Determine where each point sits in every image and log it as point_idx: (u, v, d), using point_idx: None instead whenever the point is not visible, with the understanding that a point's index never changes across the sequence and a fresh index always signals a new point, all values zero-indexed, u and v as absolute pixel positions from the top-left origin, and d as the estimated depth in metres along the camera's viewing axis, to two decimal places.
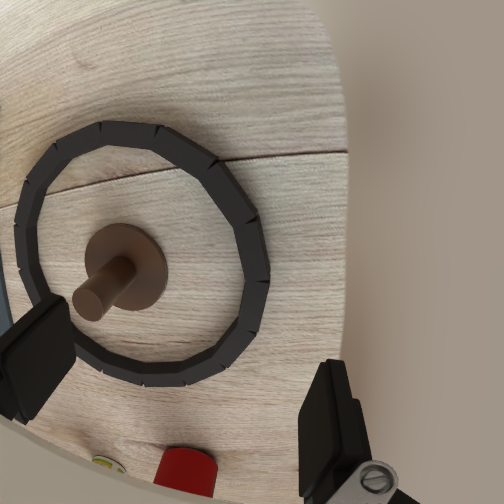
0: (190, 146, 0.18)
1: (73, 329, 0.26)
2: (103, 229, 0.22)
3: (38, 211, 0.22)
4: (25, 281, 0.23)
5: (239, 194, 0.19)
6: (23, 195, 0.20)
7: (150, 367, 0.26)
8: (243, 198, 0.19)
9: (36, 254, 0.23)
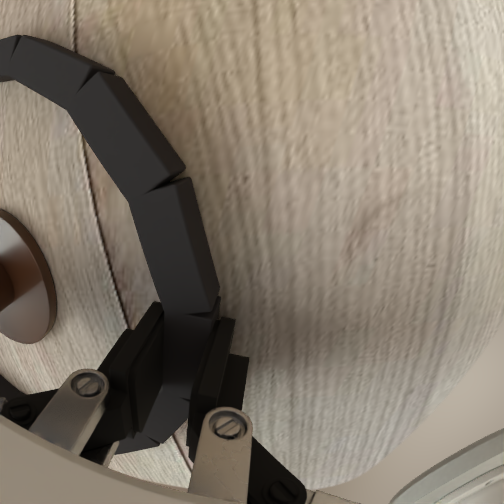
0: (173, 430, 0.12)
1: None
2: (35, 263, 0.11)
3: None
4: None
5: (130, 451, 0.14)
6: (61, 64, 0.07)
7: None
8: None
9: None
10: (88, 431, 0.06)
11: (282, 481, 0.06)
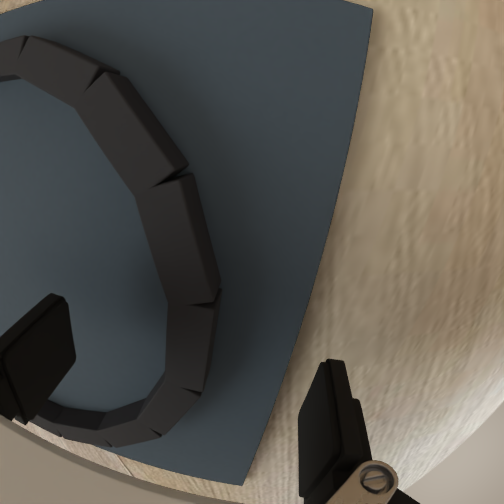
0: (175, 421, 0.13)
1: None
2: None
3: None
4: None
5: (132, 443, 0.14)
6: (69, 64, 0.08)
7: None
8: None
9: None
10: None
11: None
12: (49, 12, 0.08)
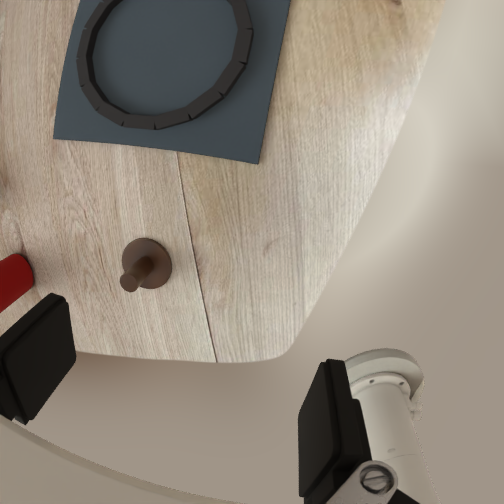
0: (231, 81, 0.30)
1: (113, 5, 0.28)
2: (167, 257, 0.40)
3: None
4: None
5: (204, 109, 0.32)
6: None
7: (90, 61, 0.31)
8: (202, 111, 0.32)
9: None
10: None
11: None
12: None
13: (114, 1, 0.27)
